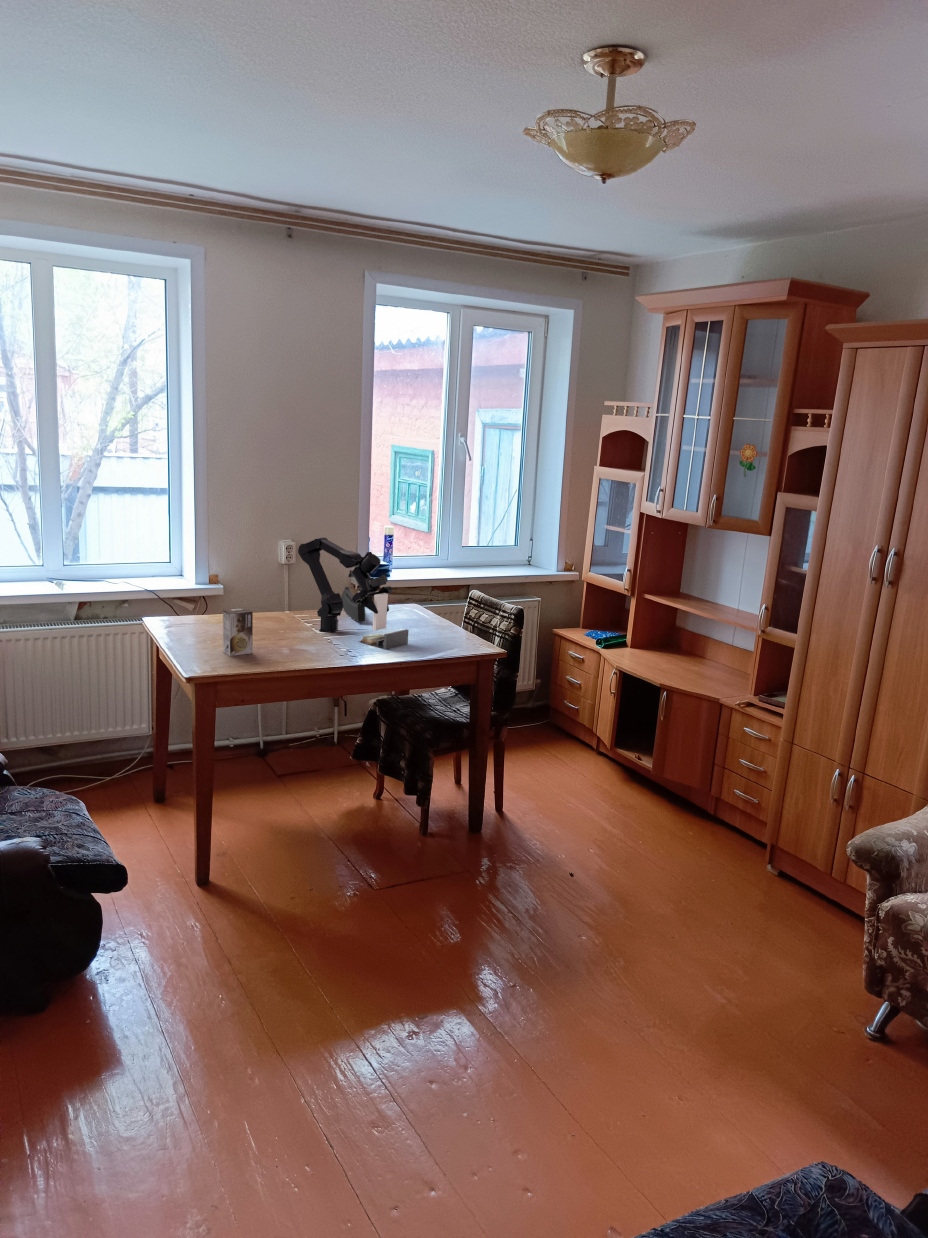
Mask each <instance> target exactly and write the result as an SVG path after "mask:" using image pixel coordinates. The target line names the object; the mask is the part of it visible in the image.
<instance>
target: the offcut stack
mask: <svg viewBox="0 0 928 1238" xmlns="http://www.w3.org/2000/svg"><path fill="white" fill-rule="evenodd" d="M381 639H384V634H381V633H376V634H369V635H363V636H362V638H361V639H360V640H359V641H360V642H363V643H367V644H370V645H372V644H376V642H377V640H381ZM363 643H362V644H363ZM367 644H366V645H367ZM370 645H369V646H370Z"/></svg>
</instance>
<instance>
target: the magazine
mask: <svg viewBox="0 0 928 1238" xmlns="http://www.w3.org/2000/svg"><path fill="white" fill-rule="evenodd" d="M340 596H341V599H342V600H343V609H342V610H343V611H344V612H345V613H346V615H347V616H348V617H349V618H350V617H351V618H350V619H351V620H353V619H354V620H353V621H356V622H358V623H365V622H366V607H364V606H363V605H360V604H359V603H360V602H361V601H360V602H359V603H357V604H354V603H353V601H352V597H353V596H354V594H353V593H352V591H351V590H350V587H348V586H345V587H344V590H342V594H341V595H340Z"/></svg>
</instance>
